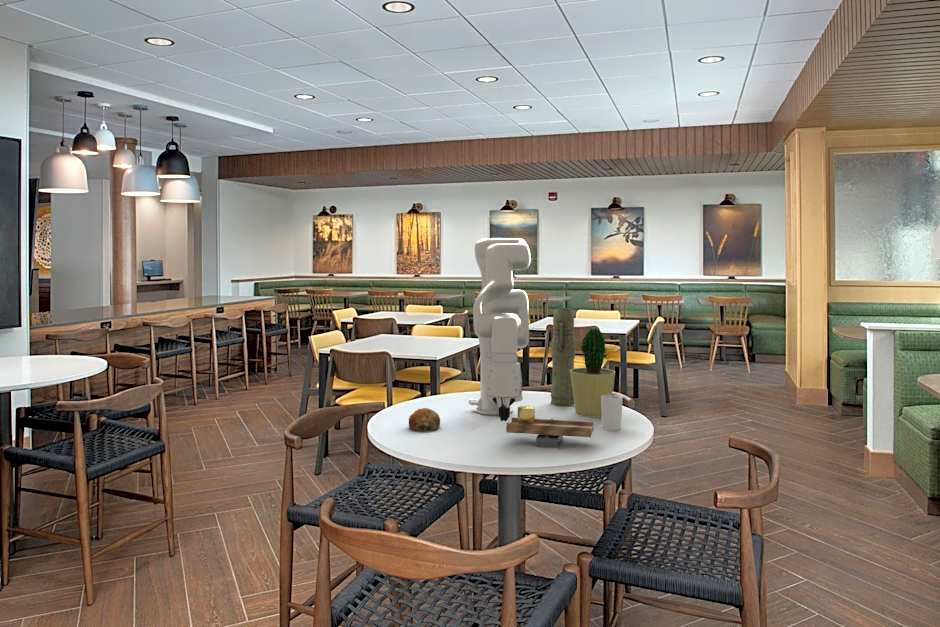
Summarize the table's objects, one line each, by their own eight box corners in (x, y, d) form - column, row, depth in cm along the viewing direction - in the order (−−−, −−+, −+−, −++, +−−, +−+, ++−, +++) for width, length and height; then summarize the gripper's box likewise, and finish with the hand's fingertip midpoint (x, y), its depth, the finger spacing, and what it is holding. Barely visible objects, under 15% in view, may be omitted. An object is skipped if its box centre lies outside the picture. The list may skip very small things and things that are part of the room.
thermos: (575, 400, 267) (576, 307, 264) (574, 407, 255) (575, 309, 253) (551, 399, 268) (552, 307, 266) (549, 406, 257) (550, 309, 254)
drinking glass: (609, 431, 218) (610, 399, 218) (596, 427, 224) (596, 395, 223) (626, 429, 221) (627, 397, 221) (613, 425, 227) (613, 394, 227)
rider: (516, 426, 206) (516, 408, 205) (519, 422, 210) (519, 405, 210) (533, 426, 204) (533, 409, 204) (536, 423, 209) (536, 406, 209)
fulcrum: (536, 446, 201) (536, 436, 201) (543, 436, 212) (543, 426, 212) (557, 448, 199) (557, 437, 199) (563, 437, 211) (563, 427, 211)
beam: (506, 432, 204) (506, 422, 204) (512, 425, 213) (512, 416, 213) (590, 437, 198) (590, 427, 198) (593, 430, 207) (593, 420, 207)
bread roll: (442, 438, 225) (446, 413, 228) (431, 431, 216) (435, 405, 219) (413, 435, 229) (418, 411, 231) (401, 428, 220) (406, 403, 222)
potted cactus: (566, 408, 252) (567, 324, 250) (610, 409, 252) (611, 324, 249) (571, 418, 237) (572, 328, 234) (618, 418, 236) (619, 328, 234)
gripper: (476, 358, 206) (476, 421, 207) (527, 360, 202) (526, 424, 203) (482, 355, 213) (482, 416, 214) (532, 357, 209) (531, 418, 210)
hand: (504, 419), depth 209 cm, fingers closed
